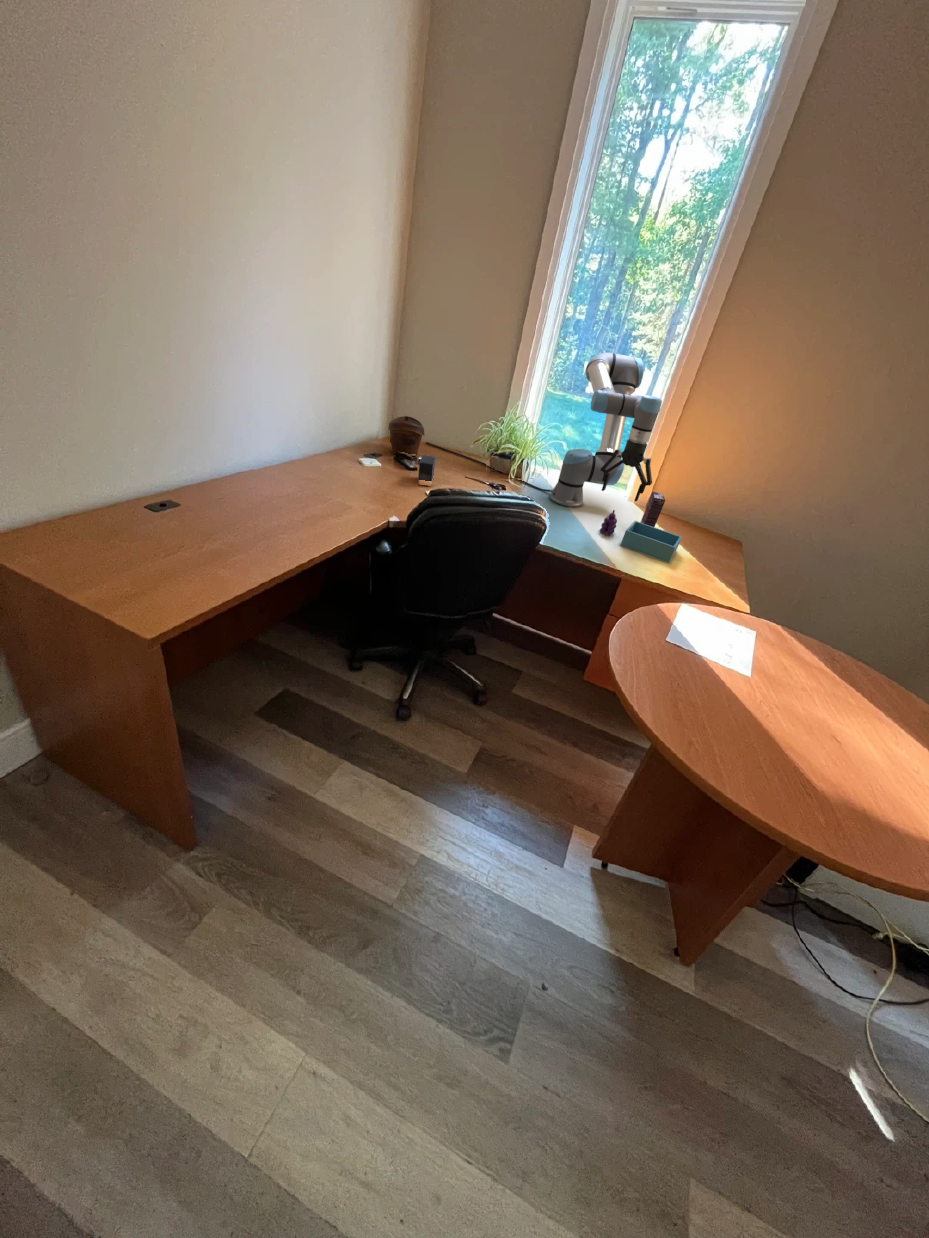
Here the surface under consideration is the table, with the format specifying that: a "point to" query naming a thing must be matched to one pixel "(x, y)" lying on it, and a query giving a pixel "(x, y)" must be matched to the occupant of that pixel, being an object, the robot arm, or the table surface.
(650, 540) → the bin
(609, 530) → the grapes
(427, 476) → the small box
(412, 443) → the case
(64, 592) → the table surface
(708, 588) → the table surface
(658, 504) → the supplement box
